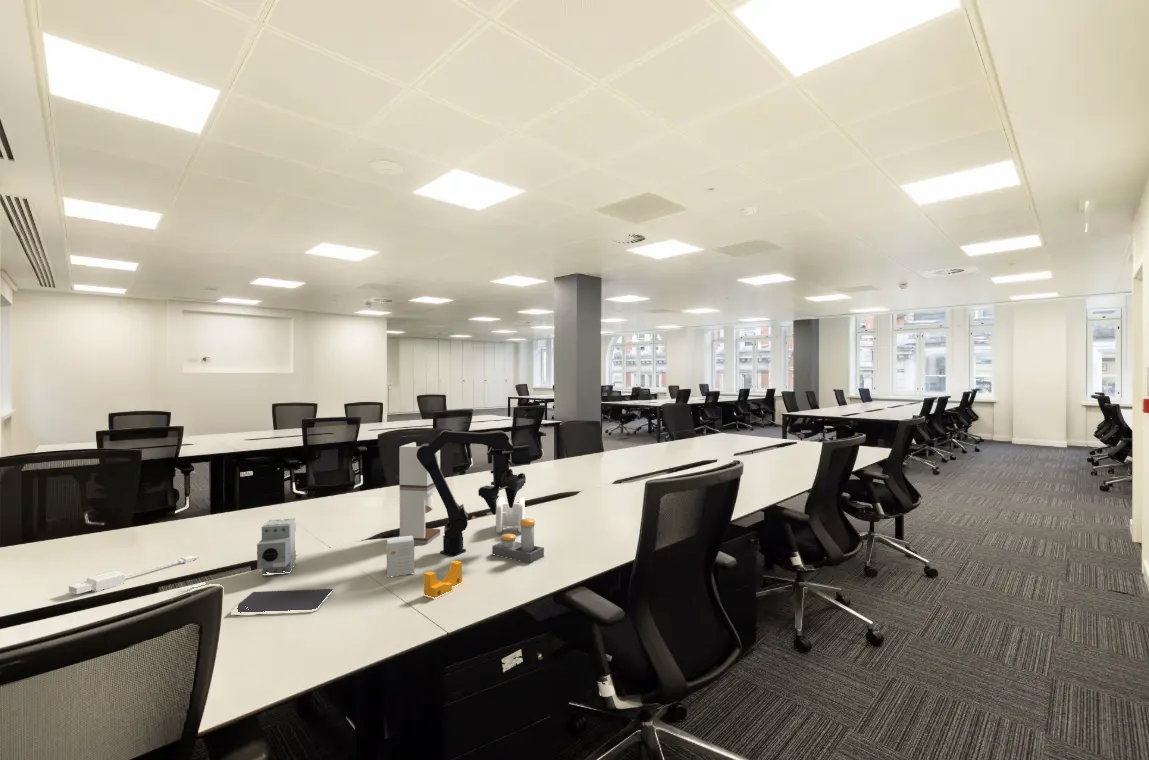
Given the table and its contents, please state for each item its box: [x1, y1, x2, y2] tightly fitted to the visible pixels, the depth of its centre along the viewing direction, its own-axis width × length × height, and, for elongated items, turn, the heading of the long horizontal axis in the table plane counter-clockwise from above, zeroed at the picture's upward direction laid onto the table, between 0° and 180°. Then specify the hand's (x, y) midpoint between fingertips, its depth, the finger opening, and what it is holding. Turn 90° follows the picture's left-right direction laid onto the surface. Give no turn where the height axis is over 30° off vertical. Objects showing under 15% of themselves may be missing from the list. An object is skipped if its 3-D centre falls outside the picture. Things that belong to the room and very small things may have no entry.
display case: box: [398, 441, 441, 545], centre depth 196 cm, size 11×11×35 cm
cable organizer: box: [495, 496, 526, 534], centre depth 208 cm, size 15×11×12 cm
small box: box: [386, 536, 416, 578], centre depth 163 cm, size 8×6×10 cm
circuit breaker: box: [256, 517, 297, 575], centre depth 162 cm, size 8×14×15 cm, turn 15°
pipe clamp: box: [423, 560, 463, 598], centre depth 151 cm, size 12×4×6 cm, turn 147°
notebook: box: [237, 588, 334, 613], centre depth 142 cm, size 13×2×21 cm
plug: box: [520, 518, 536, 553], centre depth 177 cm, size 5×5×12 cm
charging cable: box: [68, 555, 199, 595], centre depth 160 cm, size 5×32×3 cm, turn 156°
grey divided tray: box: [491, 533, 545, 564], centre depth 179 cm, size 8×16×6 cm, turn 59°
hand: (502, 511), depth 185 cm, fingers open, 9 cm apart
